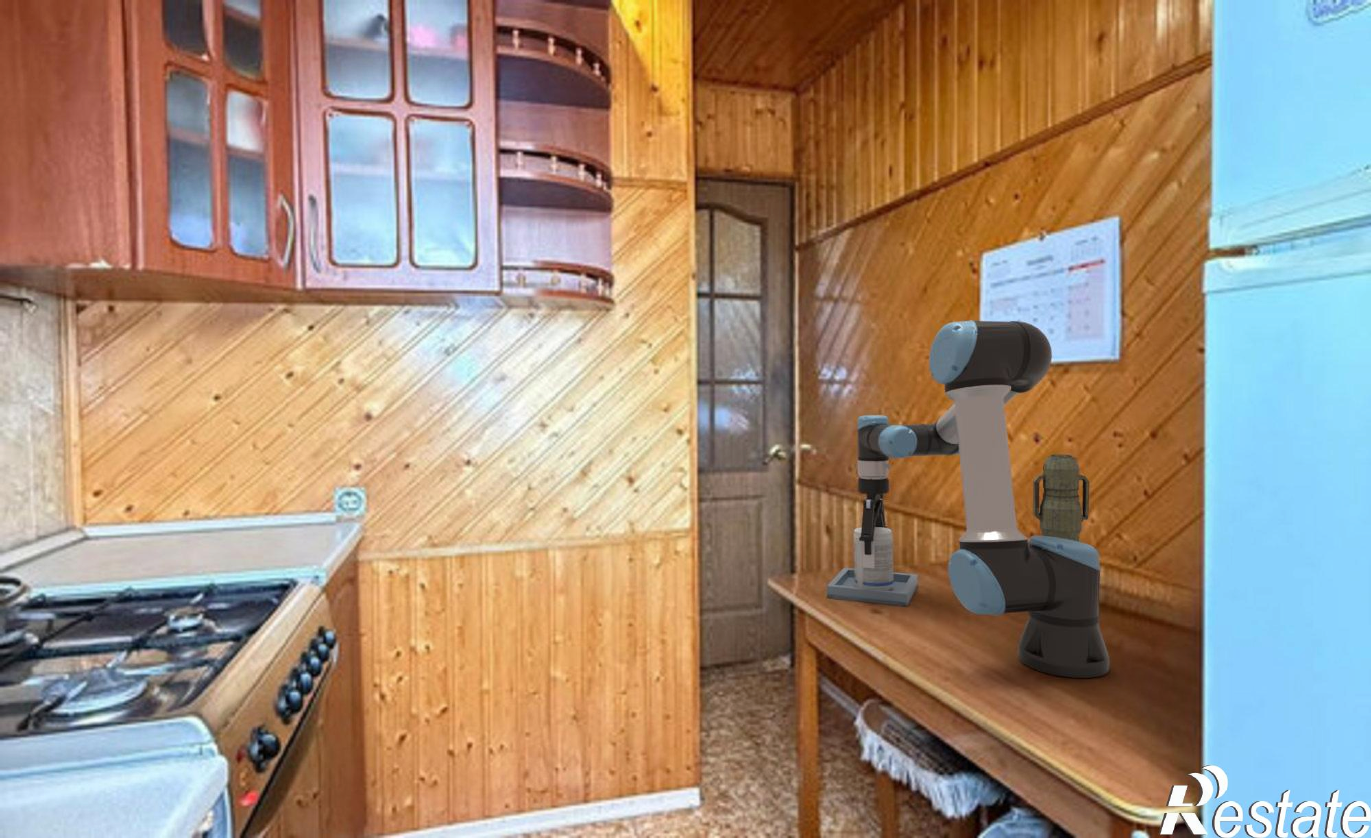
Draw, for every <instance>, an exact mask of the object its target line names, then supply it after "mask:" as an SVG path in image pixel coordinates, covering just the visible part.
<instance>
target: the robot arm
mask: <svg viewBox="0 0 1371 838" xmlns="http://www.w3.org/2000/svg"><path fill="white" fill-rule="evenodd" d="M928 358H929V359H928V364H929V366H928V367H929V372H930V374H931V376H932V379H933V380H934V381H935V382H936V383H938V384H941V385H944V395H945V397H947V398H948V399H950V400H951V402H953V404H952V405H951V406H950V407H949V409H947V410H946V411H945V412H944V413H943V414H942V415H941V416H940V417H939V418H938V419H937V420H936V421H935V422H934V423H925V424H923V423H922V424H889V421H890V420H889V418H888V416H886V415H878V414H877V415H875V414H873V415H861V416H859V417H858V419H857V429H856V432H857V476H859V477H858V479H857V491H858V493H860V494H865V495H866V499H863V501H862V506H863V507H862V508H863V509H862V519H861V527H862V529H861V537H859V541H863V567H864V568H875V548H874V541H873V540H874V530H875V527H882V528H888V525H887V522H886V517H885V516H886V515H885V506H884V495H886V494H888V493H889V492H890V479H889V478H888V476H889V473H890V472H889V469H890V468H892V464H890V463H889V462H890V461H889V459H890V458H891V459H905V458H908V457H923V456H924V457H925V456H926V457H927V456H953V455H958V456H959V463H960V472H961V473H960V474H961V475H960V476H961V485H962V493H963V504H964V505H963V506H964V507H963V508H964V516H965V524H966V525H965V526H966V527H965V528H966V530H965V532H964V533H963V534H962V535H961V537H959V538H958V542H959V544H958V545H959V549H958V550H956V551H954V552H953V553H952V554H951V555H950V558H949V562H948V569H947V571H948V579H949V582H950V587H951V588H952V591H953V593H954V594H955V597H956V598H957V599H958V601H959V602H960V604H961V605H962V606H963V607H964V608H965V609H966V610H968V611H969V612H970V613H972V614H975V615H978V616H979V615H980V616H981V615H985V616H986V615H992V616H1001V615H1002V614H1014V613H1026V612H1028V618H1027V621H1026V623H1025V626H1024V630H1023V632H1022V635H1021V637H1020V639H1019V642H1018V646H1017V647H1018V648H1017V657H1018V660H1019V662H1021V663H1022V664H1024V665H1025V666H1027V667H1029V668H1030V669H1034V670H1036V671H1038V672H1040V673H1046V674H1049V675H1054V676H1059V677H1065V678H1074V679H1075V678H1076V679H1088V678H1098V677H1101V676H1104V675H1106V674H1107V673H1109V671H1110V656H1109V652H1108V650H1107V647H1106V644H1105V640H1104V638H1103V635H1102V633H1101V629H1100V623H1099V622H1100V621H1099V619H1100V617H1099V616H1100V615H1099V614H1100V584H1101V583H1100V581H1101V580H1100V578H1101V575H1100V574H1101V570H1102V569H1101V567H1100V554H1099V551H1098V550H1097V549H1096V547H1094V546H1093V545H1090V544H1088V543H1085V542H1081V541H1079V542H1078V541H1073V540H1068V539H1063V538H1057V537H1049V536H1042V535H1032V536H1030V537H1029V539H1028V537H1027V536H1026V535H1025V534H1024V533H1023V532H1022V531H1020V529H1019V528H1018V526H1017V518H1016V517H1017V516H1016V508H1015V497H1014V486H1013V479H1012V478H1013V477H1012V468H1011V460H1010V459H1011V458H1010V449H1009V439H1008V432H1007V431H1008V430H1007V421H1006V411H1005V406H1006V405H1007V404H1008V403H1009V402H1010V401H1011V400H1013V399H1014V398H1015V397H1016V396H1017V395H1018V394H1024V393H1025V394H1026V393H1027V392H1029V391H1031V390H1032V389H1033V388H1034V387H1035V386H1037V385H1038V384H1039V383H1040V382H1041V381H1042V380H1043V379H1044V377H1045V376H1046V375H1047V373H1048V372H1049V370H1050V366H1051V364H1052V358H1053V353H1052V347H1051V343H1050V341H1049V339H1048V337H1047V336H1046V334H1044V332H1043V331H1042V330H1040V329H1039V328H1038V327H1036V325H1033V324H1031V323H1028V322H1026V321H1019V320H1012V321H1010V320H1009V321H997V320H995V321H994V320H993V321H989V320H971V319H968V320H965V321H952V322H949V323H947V324H945V325H944V326H943V327H941V329H940V330H939V331H938V332H937V334H936V335H935V338H934V340H933V341H932V343H931V347H930V352H929V357H928ZM886 525H887V526H886Z"/></svg>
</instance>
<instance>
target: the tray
mask: <svg viewBox="0 0 1371 838" xmlns="http://www.w3.org/2000/svg"><path fill="white" fill-rule="evenodd" d="M893 572H894V571H893ZM918 577H919V575H918V574H915V573H903V572H894V586H893V588H892V589H891V590H879V589H869V588H860V587H856V586H855V573H854V568H851V567H850V568H849V567H843V568H842V570H840V571H839V572H838V574H836V576H835V577H834V578H832V580H831V581H830V582H829V583H828V584H827V585H826V598H827V599H834V600H835V599H836V600H842V601H851V602H852V601H853V602H860V603H861V602H862V603H869V604H879V605H887V606H896V607H897V606H898V607H905V606H906V607H909V606H908V605H909V604H910V602H911V600H912V598H913V596H914V594H915V592H916V590H917V588H918V585H919V584H918V583H919V581H918V579H919V578H918Z"/></svg>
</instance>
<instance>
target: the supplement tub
mask: <svg viewBox="0 0 1371 838" xmlns="http://www.w3.org/2000/svg"><path fill="white" fill-rule="evenodd" d="M861 529H862V526H860V527H857V528H855V529H854V530H853V562H854V563H853V566H854V567H853V569H854V573H855V586H856V587H860V588H869V589H879V590H891V589H892V588H893V586H894V539H893V531H892V529H890V528H888V527H887V528H882V527H875V530H874V540H873V541H874V548H875V568H864V567H863V541H859V537H861Z"/></svg>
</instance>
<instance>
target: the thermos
mask: <svg viewBox="0 0 1371 838" xmlns="http://www.w3.org/2000/svg"><path fill="white" fill-rule="evenodd" d="M1077 460H1078V459H1077V458H1076V456H1073V455H1071V454H1050V455H1049V456H1048V455H1047V456H1046V458H1045V461H1044V464H1043V467H1042V473H1041V474H1040V475H1037V476H1036V477H1035V478H1034V480H1033V481H1032V493H1033V494H1032V496H1033V497H1032V515H1033V517H1035V518H1036V519H1037V520H1038V521H1039V528H1040V531H1041V536H1049V537H1057V538H1063V539H1068V540H1073V541H1078V542H1080V533H1081V532H1082V530H1083V529H1082V527H1083V526H1082V525H1083V524H1082V523H1083V522H1084V521H1085V520H1089V512H1090V511H1089V509H1090V481H1089V480H1088V478H1087V477H1086V476H1085V475H1081V474H1080V467H1079V464H1078V461H1077ZM1041 481H1042V488H1043V493H1042V498H1041V502H1040V483H1041ZM1080 481H1082V506H1081V502H1080V495H1079V490H1080Z"/></svg>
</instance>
